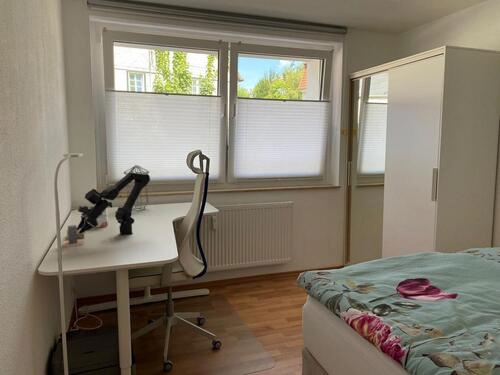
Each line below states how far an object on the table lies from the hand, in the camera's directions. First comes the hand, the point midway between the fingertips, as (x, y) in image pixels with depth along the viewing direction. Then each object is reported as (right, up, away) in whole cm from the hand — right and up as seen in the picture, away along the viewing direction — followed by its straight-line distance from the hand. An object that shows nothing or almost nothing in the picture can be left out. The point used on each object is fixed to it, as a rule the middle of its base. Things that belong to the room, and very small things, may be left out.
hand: (78, 231), depth 200 cm
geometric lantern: (+5, +6, +92) cm, 92 cm away
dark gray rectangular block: (-2, -6, -1) cm, 6 cm away
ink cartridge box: (-3, -1, +38) cm, 39 cm away
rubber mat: (-2, -6, -1) cm, 7 cm away
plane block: (-7, -5, +12) cm, 15 cm away
